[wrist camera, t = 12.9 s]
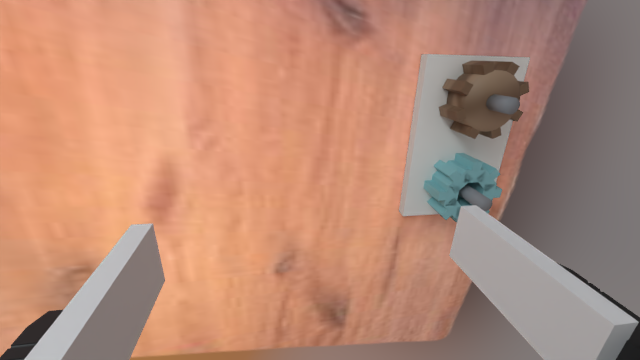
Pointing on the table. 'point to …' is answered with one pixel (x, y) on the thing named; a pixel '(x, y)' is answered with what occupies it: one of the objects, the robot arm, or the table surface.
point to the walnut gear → (481, 97)
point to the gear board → (449, 131)
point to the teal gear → (460, 184)
